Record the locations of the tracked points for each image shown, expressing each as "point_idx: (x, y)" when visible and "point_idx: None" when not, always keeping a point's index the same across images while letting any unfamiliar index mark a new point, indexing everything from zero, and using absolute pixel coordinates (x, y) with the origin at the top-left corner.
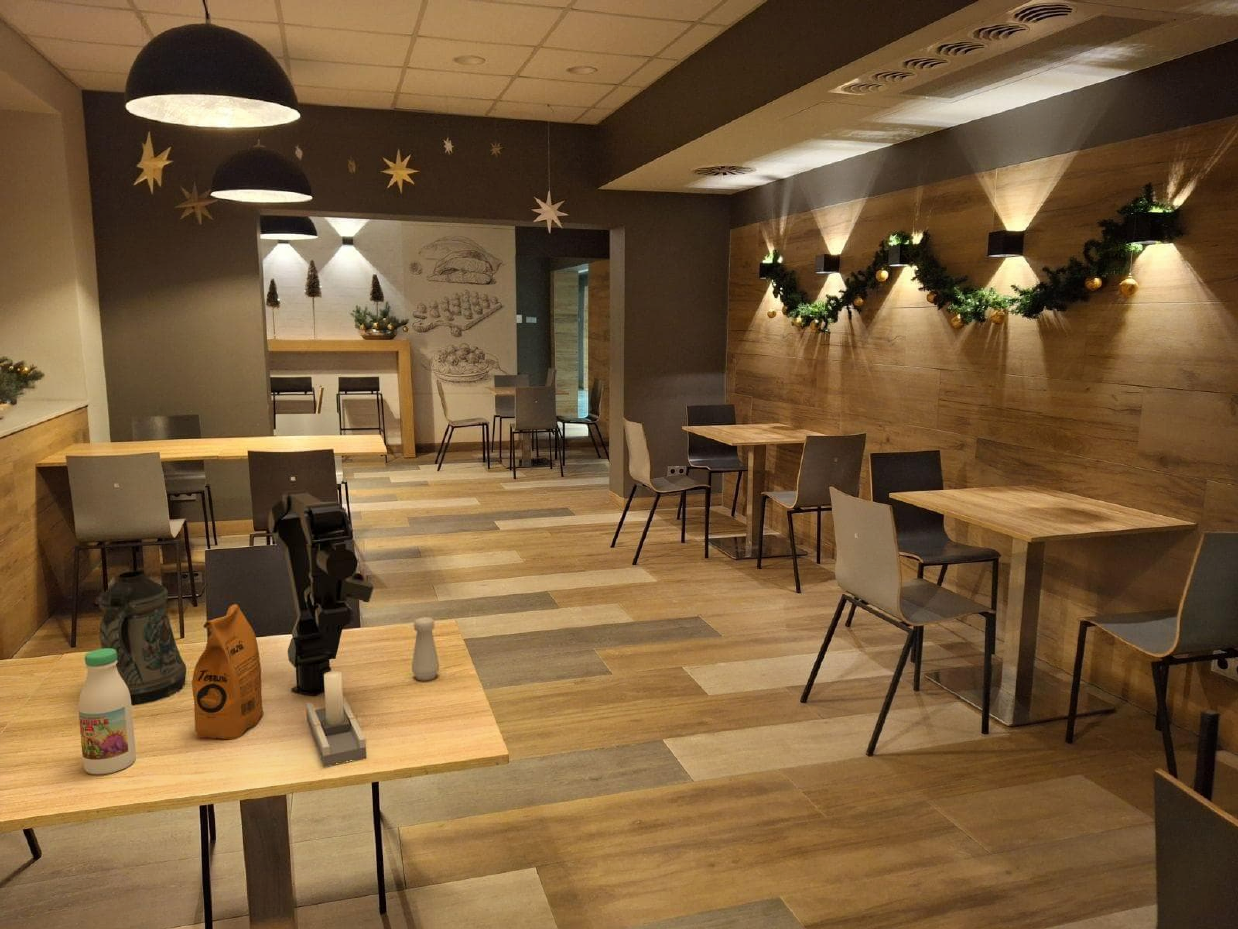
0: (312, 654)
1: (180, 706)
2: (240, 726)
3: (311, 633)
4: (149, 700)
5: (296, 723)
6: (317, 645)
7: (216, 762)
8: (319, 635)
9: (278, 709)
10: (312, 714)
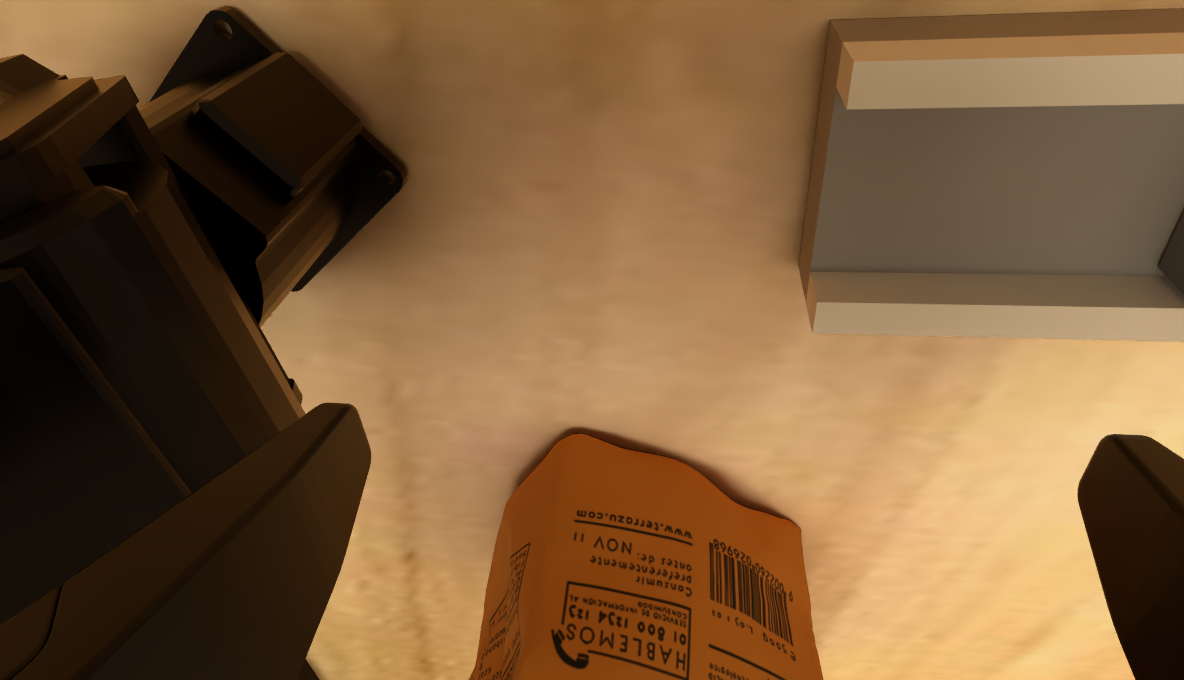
0: (270, 358)
1: (371, 617)
2: (793, 556)
3: (129, 532)
4: (308, 673)
5: (785, 315)
6: (224, 381)
7: (990, 598)
8: (132, 440)
9: (538, 364)
10: (1034, 327)
